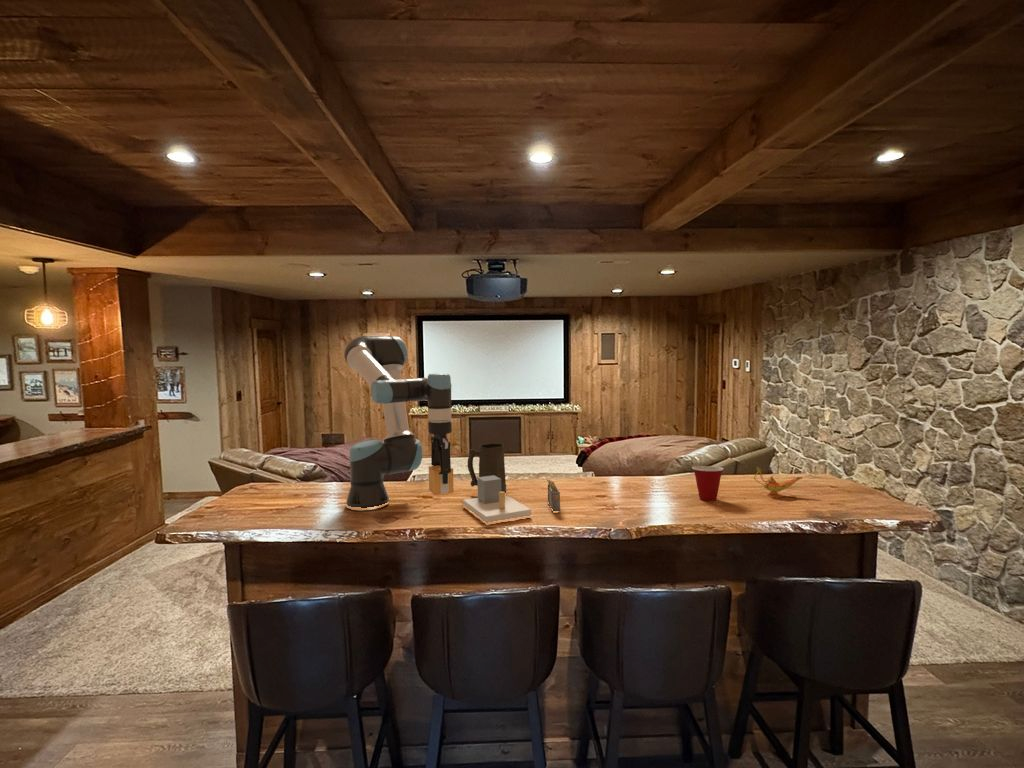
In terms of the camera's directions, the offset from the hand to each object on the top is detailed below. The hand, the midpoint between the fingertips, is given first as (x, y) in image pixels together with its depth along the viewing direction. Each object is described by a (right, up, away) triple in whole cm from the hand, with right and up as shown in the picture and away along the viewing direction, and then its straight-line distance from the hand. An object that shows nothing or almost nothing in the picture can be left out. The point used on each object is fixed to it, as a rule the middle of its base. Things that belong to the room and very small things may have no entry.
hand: (441, 490), depth 169 cm
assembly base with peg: (+18, -9, +8) cm, 22 cm away
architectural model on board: (+38, -10, +12) cm, 41 cm away
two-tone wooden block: (0, 0, 0) cm, 0 cm away
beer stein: (+14, -9, +31) cm, 35 cm away
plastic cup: (+95, -7, +20) cm, 97 cm away
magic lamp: (+122, -7, +22) cm, 125 cm away
